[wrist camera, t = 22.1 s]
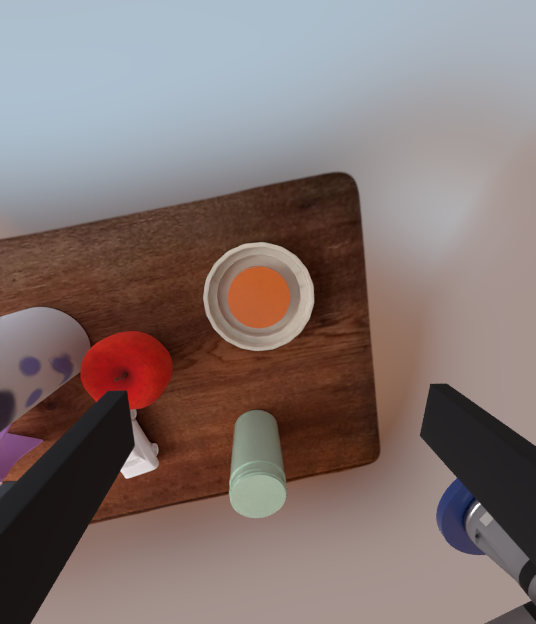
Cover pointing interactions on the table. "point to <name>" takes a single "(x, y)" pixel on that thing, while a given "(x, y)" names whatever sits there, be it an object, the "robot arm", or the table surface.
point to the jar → (257, 466)
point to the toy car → (140, 452)
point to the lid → (258, 297)
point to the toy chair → (13, 449)
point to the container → (36, 358)
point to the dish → (282, 264)
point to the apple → (127, 368)
